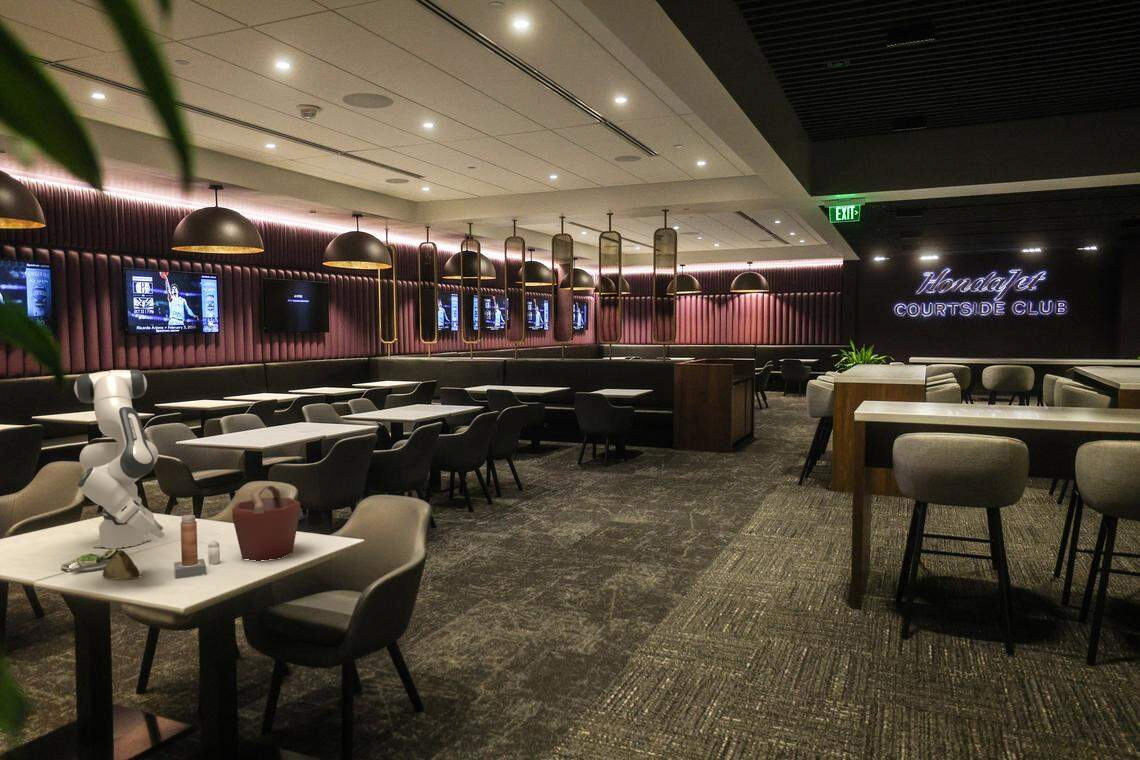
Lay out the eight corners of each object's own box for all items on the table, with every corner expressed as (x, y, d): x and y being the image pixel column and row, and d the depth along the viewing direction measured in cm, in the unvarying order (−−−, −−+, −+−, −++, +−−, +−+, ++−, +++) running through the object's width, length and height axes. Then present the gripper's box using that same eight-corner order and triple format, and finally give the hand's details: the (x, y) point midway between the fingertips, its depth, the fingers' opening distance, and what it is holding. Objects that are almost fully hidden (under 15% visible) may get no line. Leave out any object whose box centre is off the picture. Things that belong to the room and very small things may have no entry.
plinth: (174, 571, 259) (174, 562, 259) (203, 567, 264) (203, 558, 263) (175, 578, 251) (175, 569, 251) (206, 574, 256) (205, 565, 256)
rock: (91, 572, 250) (106, 574, 244) (106, 548, 254) (121, 548, 249) (121, 585, 257) (136, 587, 251) (135, 561, 261) (150, 562, 256)
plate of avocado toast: (96, 576, 255) (95, 562, 254) (46, 574, 256) (45, 561, 256) (134, 559, 274) (134, 546, 274) (88, 558, 276) (87, 545, 275)
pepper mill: (181, 562, 258) (179, 515, 257) (197, 560, 261) (195, 514, 260) (182, 566, 254) (180, 518, 253) (198, 564, 256) (196, 517, 255)
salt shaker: (208, 562, 269) (207, 540, 269) (219, 561, 271) (218, 539, 270) (209, 565, 266) (208, 543, 265) (220, 563, 268) (219, 541, 267)
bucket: (273, 566, 264) (271, 494, 263) (216, 562, 269) (214, 492, 267) (311, 547, 288) (309, 481, 287) (258, 544, 293) (256, 479, 291)
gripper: (119, 508, 255) (153, 533, 261) (119, 521, 237) (156, 548, 243) (134, 493, 257) (168, 519, 263) (135, 505, 239) (171, 532, 245)
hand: (162, 533), depth 253 cm, fingers open, 8 cm apart
